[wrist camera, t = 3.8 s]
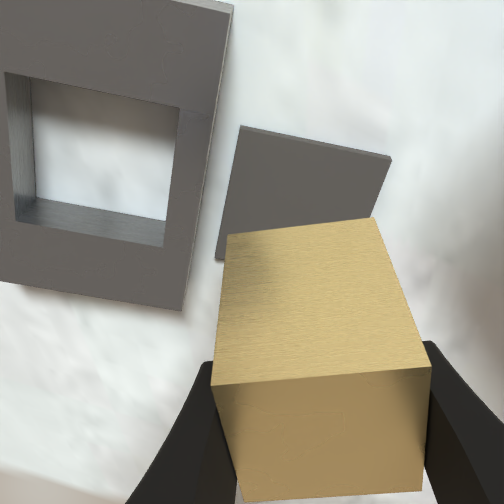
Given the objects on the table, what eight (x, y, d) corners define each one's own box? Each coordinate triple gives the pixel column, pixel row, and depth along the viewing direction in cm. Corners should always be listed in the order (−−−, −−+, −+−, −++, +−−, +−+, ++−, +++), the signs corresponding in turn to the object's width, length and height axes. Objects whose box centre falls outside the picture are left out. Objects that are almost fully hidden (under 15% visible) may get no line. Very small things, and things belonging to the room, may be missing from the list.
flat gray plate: (389, 156, 19) (392, 160, 19) (343, 275, 22) (344, 280, 22) (240, 125, 18) (240, 128, 18) (215, 252, 22) (214, 257, 21)
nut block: (373, 217, 15) (431, 366, 10) (375, 326, 17) (422, 491, 12) (227, 234, 15) (210, 385, 10) (249, 339, 18) (244, 502, 13)
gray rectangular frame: (233, 5, 16) (230, 13, 15) (187, 283, 23) (181, 311, 21) (-13, -53, 15) (-47, -50, 14) (12, 253, 22) (-8, 279, 20)
